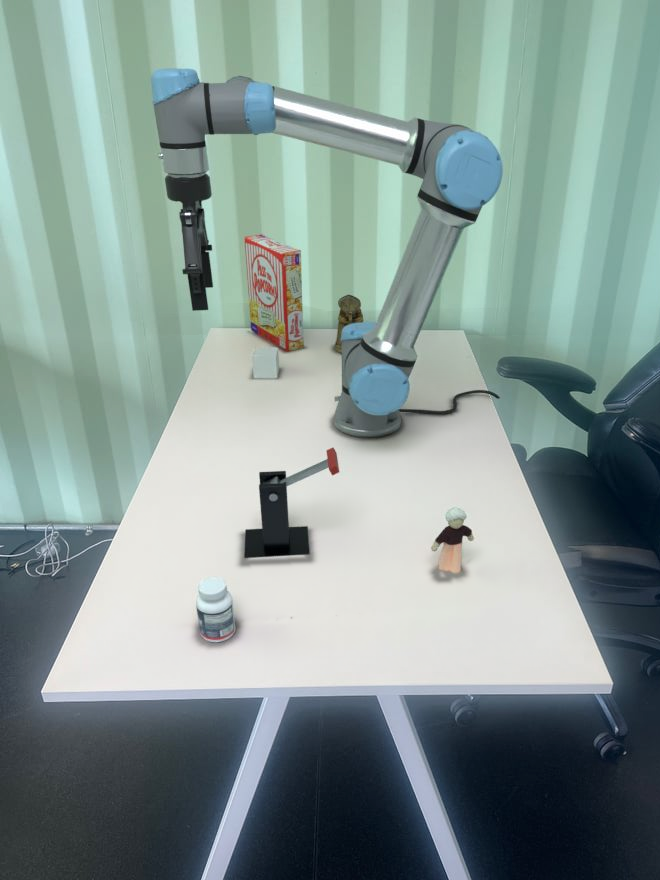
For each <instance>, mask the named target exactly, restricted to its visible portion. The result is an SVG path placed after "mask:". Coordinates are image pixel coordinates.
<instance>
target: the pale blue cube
mask: <svg viewBox="0 0 660 880" xmlns="http://www.w3.org/2000/svg"><path fill="white" fill-rule="evenodd" d="M251 360H252V361H251V362H252V372H253V379H278V376H279V372H280V356H279V347H260V346H259V347H257V346H256V347H254V349H253V351H252V355H251Z"/></svg>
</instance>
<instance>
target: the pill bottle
mask: <svg viewBox="0 0 660 880" xmlns="http://www.w3.org/2000/svg"><path fill="white" fill-rule="evenodd" d="M197 590H198V595H197V597H196V600H195V606H196V613H197V621H198V625H199V633H200V636H201V637H202V638H203V640H205V641H207V642H210V643H220V642H225V641H227V640H229V639H230V638H231V637H232V636H233V635H234V634H235V632H236V627H237V626H236V619H235V611H234V603H233V596H232V593H231V592H230V591H228V586H227V582H226V580H224V579H223V578H221V577H218V576H210V577H207V578H204V579H202V580H201V581H199V583H198V586H197Z"/></svg>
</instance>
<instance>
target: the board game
mask: <svg viewBox="0 0 660 880" xmlns="http://www.w3.org/2000/svg"><path fill="white" fill-rule="evenodd" d="M243 239H244V251H245V264H246V276H247V277H246V278H247V291H248V304H249V316H250V317H249V319H250V330H251V332H253V333H255V334H256V335H258V336H260V337H261V338H263V339H265V340H266V341H268V342H269V343H271V344H273V345H274V346H276V347H277V348H278V349H281V350H283V352H285V353H287V352H288V353H289V352H293V351H297V350H301V349H304V348H305V345H304V343H305V342H304V341H305V340H304V339H305V338H304V319H303V318H304V316H303V314H304V313H303V283H302V282H303V281H302V280H303V279H302V277H303V276H302V275H303V274H302V250H301V249H298V248H296V247H294V246H293V247H292V246H290V245H288V244H285V243H283V242H281V241H278V240H276V239H274V238H272V237H269V236H267V235H266V234H263V233H261V234H255V235H248V236H244V238H243Z"/></svg>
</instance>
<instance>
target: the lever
mask: <svg viewBox="0 0 660 880" xmlns="http://www.w3.org/2000/svg"><path fill="white" fill-rule="evenodd" d="M326 469H328V471H329V473H330V474H331V476H334V475H336V474H339V473H340V466H339V460H338V455H337V450H336V449H335V447H331V448H328V449H326V459H325V460H322V461H320V462H318V463H315V464H313V465H311V466H309V467H306V468H304V469H303V470H300V471H298V472H296V473H293V474H291V475H289V476H286V478H285V479H282V480H279V478H278V477H277V476H276V477H274V478H272V479H270V480H268V481H265V482H263V484H276V483H286V487H287V488H288V487H289V486H291V485H294V484H296V483H298V482H300V481H302V480H304V479H306V478H309V477H311V476H314V475H315V474H318V473H320V472H322V471H325V470H326Z"/></svg>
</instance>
